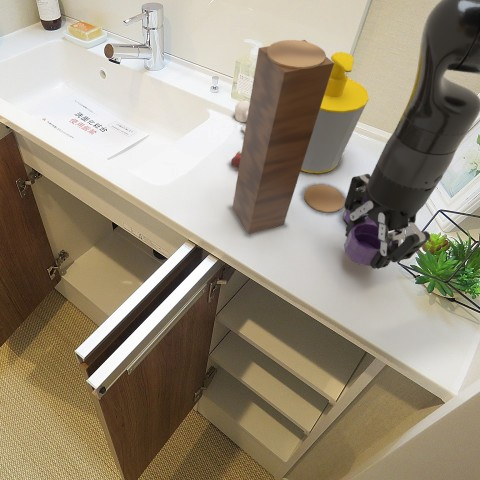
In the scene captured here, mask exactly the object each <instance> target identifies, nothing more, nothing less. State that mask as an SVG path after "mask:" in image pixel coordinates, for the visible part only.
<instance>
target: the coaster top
mask: <svg viewBox="0 0 480 480" xmlns="http://www.w3.org/2000/svg"><path fill="white" fill-rule="evenodd" d="M268 46H269V47H268V49H267V57H268V58H269V59H270V60H271V61H272V62H274V63H276V64H278V65H280V66H283V67H287V68H293V69H309V68H314V67H317V66H319V65H321V64H322V63H323V62H324V61H325V58H326V57H327V56H326V55H327V54H326V52H325V51H324V49H323V48H321V47H320V46H318V45H317V44H314V43H312V42H308V41H307V42H305V41H302V40H296V39H285V40H279V41H276V42H273V43H272V44H270V45H268Z"/></svg>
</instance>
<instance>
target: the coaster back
mask: <svg viewBox="0 0 480 480" xmlns="http://www.w3.org/2000/svg"><path fill="white" fill-rule="evenodd" d="M303 197H304V198H303V199H304V202H305V203H306V204H307V205H308V206H309V207H311V209H313V210H315V211H317V212H321V213H327V214H329V213H336V212H338V211H340V210H342V209H343V208H344V204H345V201H346V199H345V197H344V195H343V194H342V193H341V191H340V190H338V189H337V188H335V187H332V186H330V185H325V184H314V185H311V186H309V187H307V188H306V190H305V191H304V194H303Z"/></svg>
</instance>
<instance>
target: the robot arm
mask: <svg viewBox="0 0 480 480" xmlns="http://www.w3.org/2000/svg"><path fill="white" fill-rule="evenodd" d="M418 53H419V54H418V62H417V69H416V73H415V78H414V84H413V86H412V91H411V93H410V95H409V99H408V101H407V104H406V106H405V108H404V110H403V112H402V114H401V117H400V119H399V121H398V123H397V124H396V127H395V129H394V131H393V132H392V134H391V135H390V137H389V139H388V140H387V141H386V143H385V145H384V147H383V149H382V152H381V153H380V156H379V158H378V160H377V162H376V164H375V166H374V169H373V170H372V173H371V174H369V173H365V174H361V175H355V176H352V178H351V180H350V184H349V186H348V190H347V194H346V198H345V202H344V205H343V208H344V210H345V209H346V210H349V211H350V213H351V214H350V221H349V223H347V225H346V226H345V233H344V235H345V237H346V238H347V237H348V235H349V233H350V231H351V229H352V228H353V227H354V226H355V224H359V223H362V222H366V219H365V218H366V217H369V218H370V219H371V220H372V221H374V222H375V224H376V225H377V227H378V228H379V234H378V239H379V240H381V246H380V251H378V252H377V254H376V256H375V257H374V259H373V261H372V262H371V264H370V266H369V267H371V269H372V270H375V269H377V270H379V269H383V268H387V267H388V266H389V265H390V263H394V264H395V263H398V262H400V261H403V260H408V259H410V258H412V257H413V255H415V254H416V253H417V252H418V251H419V250H420V249H421V248H422V247H423V246H424V245H425V244H426V243H427V242H428V241H429V240H430V239H431V234H430V233H429V232H428V231H426V230H423V231H421V229H420V228H419V227H418V226H417V225H416V221H417V215H418V212H420V210H421V209H422V208H423V207H424V206H425V204H426V203H427V201H428V200H429V198H430V197H431V195H432V193H433V192H434V190H435V188H436V187H437V186H438V184H439V183H440V181H441V180H442V178H444V175H445V173H446V172H447V171H448V169H449V167H450V165H451V163H452V161H453V159H454V156H455V155H456V152H457V151H458V148H459V147H460V145H461V143H462V142H463V140H464V139H465V137H466V136H467V134H468V132H469V131H470V129H471V128H472V127H473V125H474V123H475V122H476V120H477V119H478V116H479V114H480V97H479V96H478V95H477V94H476V92H474V91H473V90H471V89H469V88H467V87H466V86H463V85H461V84H458V83H456V82H454V81H451V80H450V79H448V78H446V77H445V74H446V72H447V71H450V72H451V71H453V72H458V73H466V74H473V75H480V0H440V1H439V2H438V3H437V4H436V5H435V6H434V7H433V8H432V10H431V11H430V12H429V14H428V15H427V18H426V20H425V22H424V25H423V29H422V33H421V37H420V45H419V52H418ZM365 196H366V203H365V204H364V205H363V202H364V199H365ZM355 198H356V200H355V201H354V199H355ZM391 241H392V245H390V242H391Z"/></svg>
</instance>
